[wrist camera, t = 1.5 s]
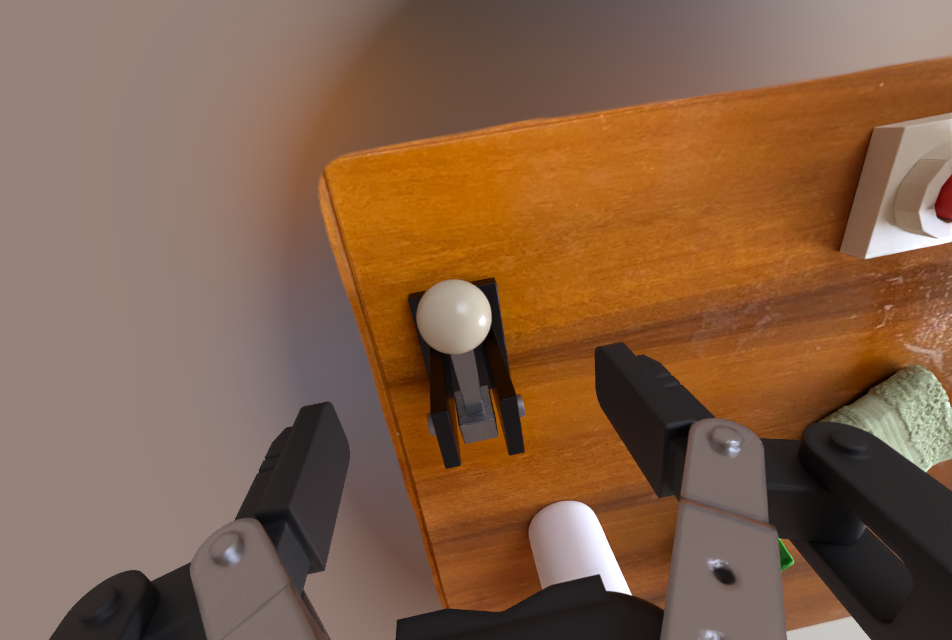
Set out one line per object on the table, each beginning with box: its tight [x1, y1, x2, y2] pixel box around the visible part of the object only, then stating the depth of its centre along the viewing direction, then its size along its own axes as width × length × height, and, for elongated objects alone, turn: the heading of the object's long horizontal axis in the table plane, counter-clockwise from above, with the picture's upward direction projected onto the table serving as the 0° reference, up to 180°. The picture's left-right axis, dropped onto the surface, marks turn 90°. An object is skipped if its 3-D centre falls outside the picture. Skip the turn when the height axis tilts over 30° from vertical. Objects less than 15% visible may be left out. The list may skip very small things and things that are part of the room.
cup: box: [529, 501, 631, 595], centre depth 42 cm, size 8×12×10 cm
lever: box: [416, 279, 498, 444], centre depth 20 cm, size 13×3×3 cm, turn 11°
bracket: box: [408, 278, 525, 469], centre depth 28 cm, size 10×7×12 cm
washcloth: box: [819, 364, 952, 472], centre depth 44 cm, size 13×18×3 cm
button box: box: [840, 113, 952, 259], centre depth 30 cm, size 10×9×4 cm
